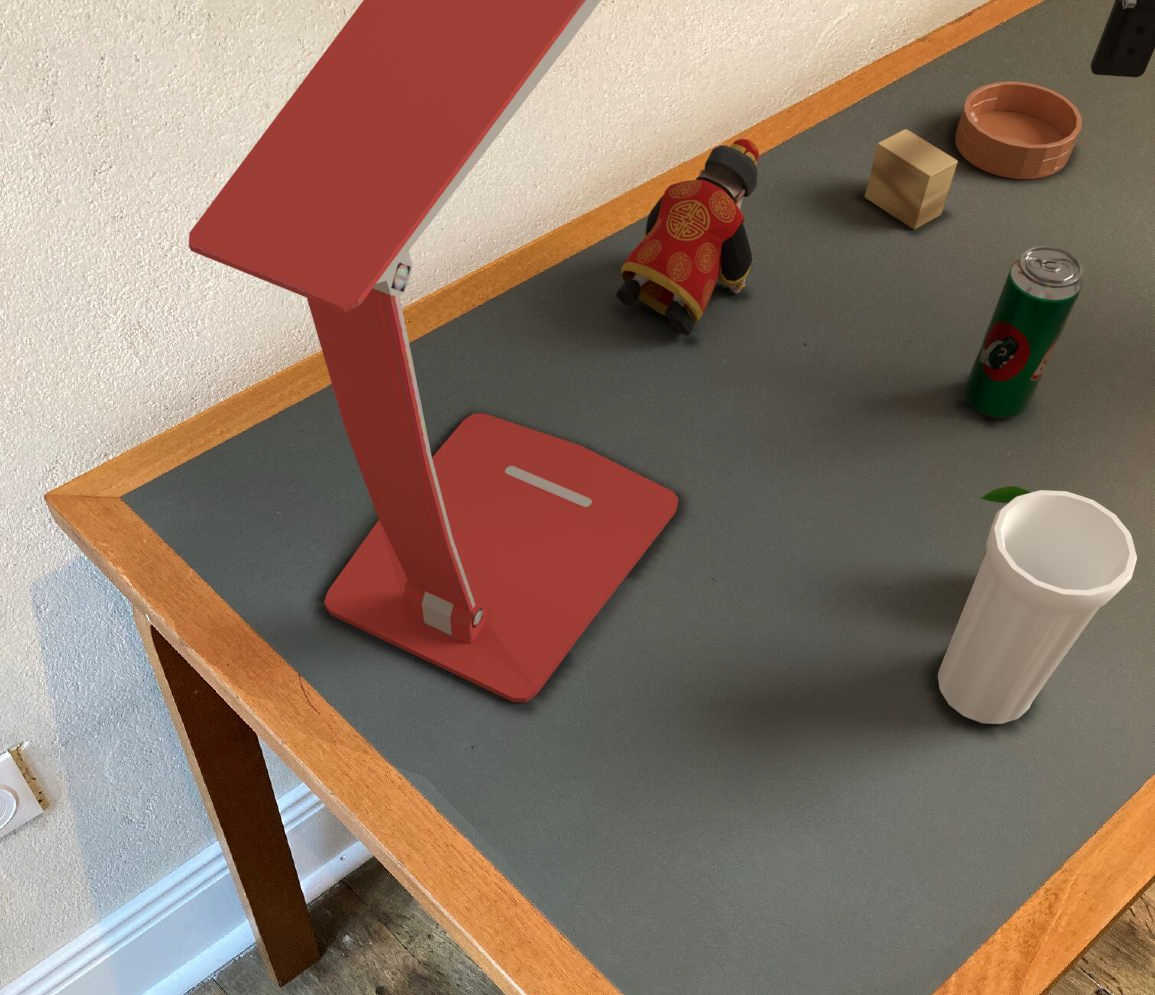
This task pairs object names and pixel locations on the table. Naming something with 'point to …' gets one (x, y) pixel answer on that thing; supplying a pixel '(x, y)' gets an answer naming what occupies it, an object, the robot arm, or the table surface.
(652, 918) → the table surface
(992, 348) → the soda can
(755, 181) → the figurine
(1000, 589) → the cup
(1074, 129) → the terracotta bowl
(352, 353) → the desk lamp
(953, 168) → the wooden block
